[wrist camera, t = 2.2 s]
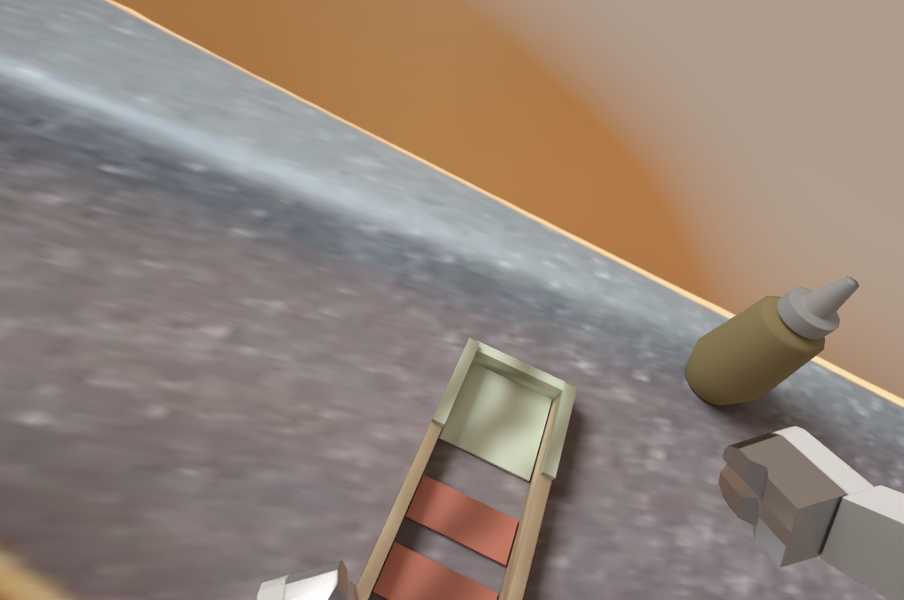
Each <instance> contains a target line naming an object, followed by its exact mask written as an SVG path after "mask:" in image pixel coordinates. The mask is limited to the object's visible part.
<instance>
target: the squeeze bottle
mask: <svg viewBox="0 0 904 600" xmlns="http://www.w3.org/2000/svg"><path fill="white" fill-rule="evenodd" d="M858 287H859V284H858V282H857V281H856V280H854V279H853V278H851V277H845V278H842V279H840V280H838V281H835V282H834V283H831V284H829V285H826V286H824V287H822V288H819V289H817V290H815V291H812V290H809V289H806V288H794V289H792V290H790V291H789V292H788V293H786V294H785V295H784V296H783V297H779V296H766V297H765V298H763V299H762V300H760V301H758V302H757V303H755V304H754V305H752V306H751V307H749V308H747V309H746V310H744V311H743V312H741V313H739V314H738V315H736V316H735V317H733V318H731V319H730V320H728V321H727V322H725V323H723V324H722V325H720V326H719V327H717V328H715V329H714V330H712V331H711V332H709V333H708V334H706V335H704V336H703V337H701V338H700V339H698V341H697V343H696V345H695V347H694V349H693V351H692V354H691V356H690V358H689V360H688V362H687V364H686V367H685V375H686V379H687V381H688V383H689V385H690V387H691V388H692V389H693V391H694V392H695V393H696V394H697V395H698V396H699V397H701V398H702V399H704V400H705V401H707V402H708V403H711V404H714V405H718V406H720V405H730V404H737V403H745V402H752V401H757V400H759V399H760V398H761V397H763V396H764V395H765V394H766V393H768V392H769V391H770V390H772V389H773V388H774V387H776V386H777V385H778V384H780V383H781V382H782V381H783V380H785V379H786V378H787V377H789V376H790V375H791V374H793V373H794V372H795V371H797V370H798V369H799V368H800V367H802V366H803V365H804V364H806V363H807V362H808V361H810V360H811V359H812V358H814V357H815V356H816V355H817V354H819V353H820V352H821V351H822V350H824V344H825V338H824V337H825V336H826V335H828V334H829V333H831V332H833V331H834V330H836V329H837V328H838V327H839V322H840V319H839V317H838V314H837V310H838V309H839V307H841V306H842V305H843V303H844V302H845V301H846V300H847V299H848V298H849V297H850V296H851V295H852V294H853V293H854V292H855V291H856V289H857V288H858Z"/></svg>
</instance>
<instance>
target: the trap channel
mask: <svg viewBox="0 0 904 600" xmlns="http://www.w3.org/2000/svg"><path fill="white" fill-rule="evenodd" d="M469 367H470V368H469ZM468 369H469V370H468ZM465 376H466V377H465ZM462 383H463V384H462ZM459 390H460V391H459ZM576 391H577V388H575V386H573V385H571V384H568V383H566V382H564V381H562V380H560V379H558V378H556V377H553V376H551V375H549V374H547V373H545V372H543V371H541V370H538V369H536V368H534V367H532V366H530V365H528V364H526V363H523V362H521V361H519V360H517V359H515V358H513V357H511V356H508V355H506V354H504V353H502V352H500V351H498V350H496V349H493V348H491V347H489V346H487V345H485V344H483V343H481V342H479V341H476V340H474V339H472V338H469V340H468V342H467V344H466V346H465V349H464V351H463V353H462V355H461V357H460V360H459V362H458V364H457V366H456V368H455V371H454V373H453V375H452V377H451V379H450V382H449V384H448V386H447V388H446V390H445V393H444V395H443V397H442V399H441V401H440V404H439V406H438V408H437V410H436V412H435V415H434V417H433V419H432V421H431V424H430V426H429V428H428V431H427V433H426V435H425V437H424V439H423V442H422V444H421V446H420V448H419V450H418V453H417V455H416V457H415V459H414V461H413V464H412V466H411V468H410V470H409V472H408V475H407V477H406V479H405V481H404V483H403V486H402V488H401V490H400V492H399V494H398V497H397V499H396V501H395V503H394V505H393V508H392V510H391V512H390V514H389V516H388V519H387V521H386V523H385V525H384V527H383V530H382V532H381V534H380V536H379V538H378V541H377V543H376V545H375V547H374V549H373V552H372V554H371V556H370V558H369V560H368V563H367V565H366V567H365V569H364V571H363V574H362V576H361V578H360V580H359V582H358V585H357V587H356V589H357V592H358V596H359V599H360V600H368V598H369V596H370V593H371V591H372V589H373V586H374V584H375V582H376V580H377V577H378V575H379V573H380V570H381V568H382V566H383V563H384V561H385V559H386V556H387V554H388V552H389V550H390V547H391V545H392V543H393V540H394V538H395V536H396V533H397V531H398V529H399V526H400V524H401V522H402V520H403V517H404V515H405V513H406V510H407V508H408V506H409V503H410V501H411V499H412V496H413V494H414V492H415V490H416V487H417V485H418V483H419V480H420V478H421V476H422V473H423V471H424V469H425V466H426V464H427V462H428V460H429V457H430V455H431V453H432V450H433V448H434V446H435V443H436V441H437V439H438V436H439V434H440V432H441V430H442V427H444V428H443V430H442V432H441V435H440V437H439V439H441V440H443V441H445V442H447V443H449V444H451V445H453V446H455V447H457V448H459V449H461V450H464V451H466V452H468V453H470V454H472V455H474V456H476V457H478V458H480V459H482V460H484V461H486V462H488V463H490V464H493V465H495V466H497V467H499V468H501V469H503V470H505V471H507V472H509V473H511V474H513V475H515V476H517V477H519V478H522V479H524V480H526V481H528V482H529V481H530V477H531V473H532V470H533V466H534V463H535V459H536V456H537V452H538V448H539V445H540V441H541V438H542V434H543V430H544V427H545V423H546V420H547V416H548V412H549V409H550V405H551V402H552V401H553V403H552V406H551V410H550V414H549V417H548V421H547V424H546V428H545V432H544V435H543V439H542V443H541V446H540V450H539V453H538V457H537V461H536V464H535V468H534V471H533V475H532V479H531V482H530V486H529V490H528V493H527V497H526V500H525V504H524V508H523V511H522V515H521V519H520V522H519V526H518V529H517V533H516V537H515V540H514V544H513V547H512V551H511V555H510V558H509V562H508V566H507V569H506V573H505V576H504V580H503V584H502V587H501V591H500V595H499V598H498V600H522V599H523V595H524V591H525V587H526V583H527V579H528V575H529V571H530V567H531V563H532V559H533V555H534V551H535V547H536V543H537V539H538V534H539V530H540V526H541V522H542V518H543V514H544V510H545V506H546V502H547V498H548V494H549V490H550V486H551V482H552V480H553V479H555V478H556V473H557V469H558V465H559V461H560V457H561V453H562V449H563V445H564V441H565V436H566V432H567V428H568V424H569V420H570V416H571V412H572V408H573V403H574V399H575V395H576ZM458 392H459V393H458ZM456 397H457V398H456ZM455 399H456V400H455ZM453 404H454V405H453ZM452 406H453V407H452ZM450 411H451V412H450ZM449 413H450V414H449ZM447 418H448V419H447ZM446 420H447V421H446ZM405 517H407V518H409V519H411V520H413V521H415V522H417V523H419V524H421V525H423V526H425V527H427V528H429V529H431V530H433V531H435V532H437V533H439V534H441V535H443V536H445V537H447V538H449V539H451V540H453V541H455V542H457V543H459V544H461V545H463V546H465V547H467V548H470V549H472V550H474V551H476V552H478V553H480V554H482V555H484V556H486V557H488V558H490V559H492V560H494V561H496V562H498V563H500V564H502V565H504V566H506V563H507V560H508V556H509V553H510V549H511V545H512V542H513V538H514V535H515V531H516V527H517V524H518V520H516V519H514V518H512V517H510V516H508V515H506V514H504V513H502V512H500V511H497V510H495V509H493V508H491V507H489V506H487V505H485V504H483V503H481V502H479V501H477V500H475V499H473V498H471V497H469V496H467V495H465V494H463V493H461V492H459V491H457V490H454V489H452V488H450V487H448V486H446V485H444V484H442V483H440V482H438V481H436V480H434V479H432V478H430V477H428V476H426V475H424V474H423V476H422V479H421V481H420V483H419V486H418V488H417V490H416V493H415V495H414V497H413V500H412V502H411V504H410V507H409V509H408V511H407V514H406V516H405ZM373 592H374V593H376V594H378V595H380V596H381V597H383V598H385V599H387V600H496V599H497V596H498V593H496V592H494V591H492V590H490V589H488V588H486V587H484V586H482V585H480V584H478V583H476V582H474V581H472V580H470V579H468V578H466V577H464V576H462V575H460V574H458V573H456V572H454V571H452V570H450V569H448V568H446V567H444V566H442V565H440V564H438V563H436V562H434V561H432V560H430V559H428V558H426V557H424V556H422V555H420V554H418V553H416V552H414V551H412V550H410V549H408V548H406V547H404V546H402V545H400V544H398V543H396V542H394V544H393V546H392V548H391V551H390V553H389V555H388V558H387V560H386V562H385V564H384V567H383V569H382V571H381V574H380V576H379V578H378V581H377V583H376V585H375V588H374V590H373Z"/></svg>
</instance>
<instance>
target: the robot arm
mask: <svg viewBox="0 0 904 600" xmlns="http://www.w3.org/2000/svg"><path fill="white" fill-rule="evenodd" d="M723 459H724V460H725V461H726V462H727V463H728V464H727V465H726V466H725V467H724V469H723V470H722V471H721V472H720V479H719V485H720V488H721V491H722V495H723V497H724V499H725V501H726V502H727V504H728V506H729V507H730V508H731V510H732V511H733V512H734V513H735V514H736V516H737V517H738V518H740V519H742V520H744V521H746V522H748V523H750V524H752V525H753V531H754V537H755V538H756V540H757V541H758V542H759V543H760V544H761V546H762V547H763V548H764V549H765V550H766V551H767V553H768V554H769V555H770V556H771V557H772V559H773V560H774V561H775V562H776V563H777V564H778V566H779V567H783V566H787V565H790V564H794V563H797V562H800V561H804V560H807V559H811V558H814V557H818V556H821V557H820V559H822V560H823V561H825V562H827V563H828V564H830V565H832V566H834V567H835V568H837V569H839V570H840V571H842V572H844V573H845V574H847V575H849V576H850V577H852V578H854V579H855V580H857V581H859V582H860V583H862V584H864V585H865V586H867V587H869V588H870V589H872V590H874V591H875V592H877V593H879V594H880V595H882V596H884V597H885V598H887V599H889V600H904V494H903V493H900V492H898V491H895V490H893V489H890V488H887V487H885V486H882V485H879V486H875V487H874V486H872V485H871V484H870V483H869V482H868V481H866V480H865V479H864V478H863V477H862V476H860V475H859V474H858V473H857V472H855V471H854V470H853V469H852V468H851V467H849V466H848V465H847V464H846V463H845V462H843V461H842V460H841V459H840V458H838V457H837V456H836V455H835V454H834V453H832V452H831V451H830V450H829V449H828V448H826V447H825V446H824V445H823V444H821V443H820V442H819V441H818V440H817V439H815V438H814V437H813V436H812V435H811V434H809V433H808V432H807V431H806V430H804V429H802V428H800V427H797V426H793V427H788V428H785V429H782V430H779V431H775V432H772V433H767V434H763V435H760V436H757V437H754V438H751V439H748V440H744V441H741V442H738V443H735V444H732V445H729V446H728V447H727V448H726V449H724V454H723ZM256 600H360V599H359V596H358V592H357V589H356V587H355V585H354V583H353V582H350V581H348V580H347V569H346V567H345V565H344V563H343V561H342V560H341V561H338V562H334V563H331V564H327V565H324V566H320V567H317V568H313V569H310V570H306V571H303V572H299V573H296V574H292V575H287V576H284V577H281V578H277V579H274V580H271V581H267V582H264V583H262V584H261V587H260V589H259V591H258V594H257V599H256Z"/></svg>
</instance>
